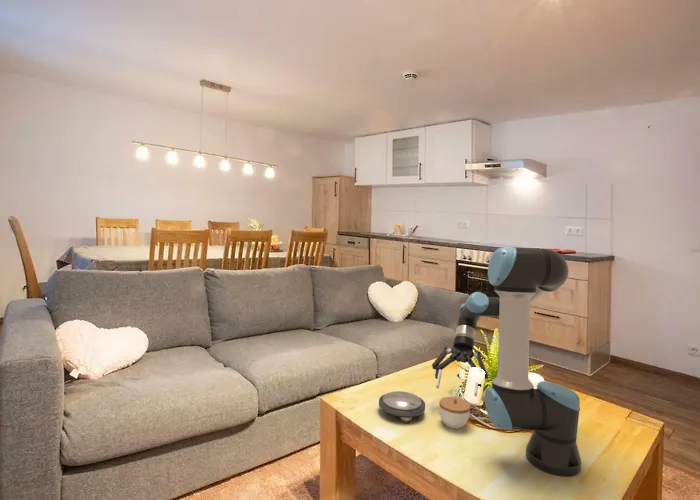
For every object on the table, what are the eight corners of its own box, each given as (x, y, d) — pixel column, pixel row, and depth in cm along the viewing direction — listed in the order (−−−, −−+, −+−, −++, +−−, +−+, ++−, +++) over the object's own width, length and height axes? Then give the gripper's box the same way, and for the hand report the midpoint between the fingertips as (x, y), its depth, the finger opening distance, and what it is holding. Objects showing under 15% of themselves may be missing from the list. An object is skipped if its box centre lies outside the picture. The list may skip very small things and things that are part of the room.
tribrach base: (429, 407, 160) (429, 395, 159) (418, 428, 144) (419, 414, 143) (386, 398, 166) (387, 386, 166) (372, 417, 150) (372, 404, 150)
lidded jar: (473, 422, 149) (474, 397, 149) (464, 435, 140) (465, 408, 140) (444, 414, 155) (445, 389, 154) (433, 426, 146) (435, 400, 145)
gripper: (497, 349, 162) (492, 402, 150) (433, 339, 172) (423, 388, 160) (498, 339, 157) (492, 393, 145) (431, 329, 166) (420, 379, 154)
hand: (456, 391), depth 152 cm, fingers open, 13 cm apart
